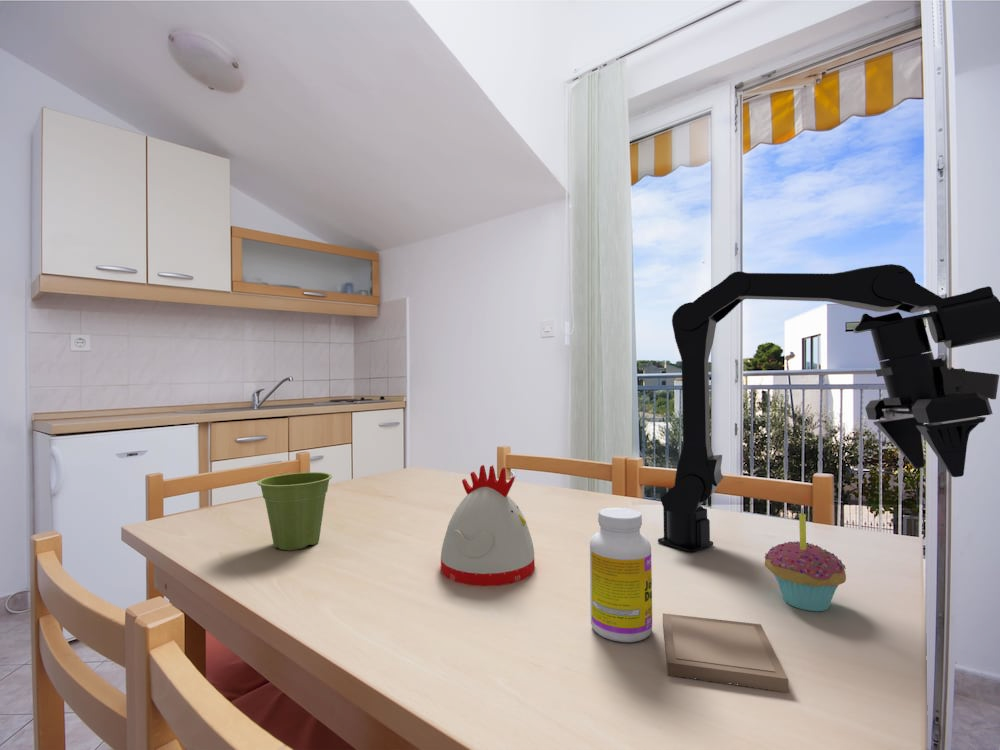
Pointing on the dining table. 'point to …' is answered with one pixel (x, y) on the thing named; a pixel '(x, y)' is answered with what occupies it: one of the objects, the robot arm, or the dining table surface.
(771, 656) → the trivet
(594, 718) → the dining table surface
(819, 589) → the cupcake
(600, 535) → the supplement bottle
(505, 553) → the kitchen timer
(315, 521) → the plant pot
